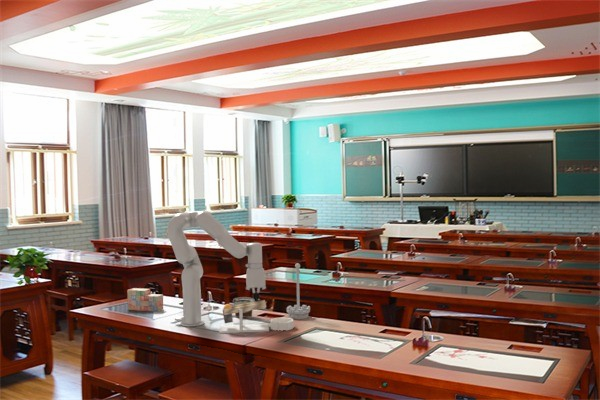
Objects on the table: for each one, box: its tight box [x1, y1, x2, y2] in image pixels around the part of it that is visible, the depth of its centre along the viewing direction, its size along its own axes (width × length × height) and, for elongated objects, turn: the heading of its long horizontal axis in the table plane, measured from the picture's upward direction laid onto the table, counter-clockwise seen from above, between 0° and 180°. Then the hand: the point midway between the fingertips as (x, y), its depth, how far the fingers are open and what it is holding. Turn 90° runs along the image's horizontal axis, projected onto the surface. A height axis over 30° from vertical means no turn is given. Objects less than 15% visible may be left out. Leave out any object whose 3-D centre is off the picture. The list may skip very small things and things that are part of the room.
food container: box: [232, 296, 254, 318], centre depth 333 cm, size 12×6×10 cm, turn 84°
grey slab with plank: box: [222, 298, 267, 324], centre depth 307 cm, size 22×18×7 cm
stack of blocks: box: [126, 287, 164, 313], centre depth 353 cm, size 21×6×12 cm, turn 69°
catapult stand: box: [218, 309, 270, 334], centre depth 301 cm, size 25×12×11 cm, turn 96°
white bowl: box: [269, 317, 295, 332], centre depth 303 cm, size 12×12×4 cm
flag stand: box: [286, 262, 311, 320], centre depth 328 cm, size 13×13×30 cm
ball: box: [223, 303, 232, 310], centre depth 300 cm, size 4×4×4 cm
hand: (256, 300), depth 314 cm, fingers closed
